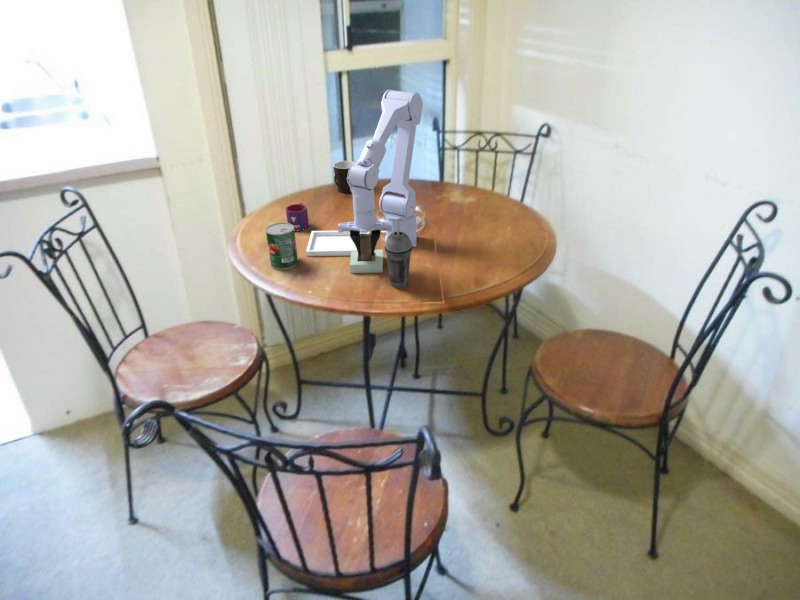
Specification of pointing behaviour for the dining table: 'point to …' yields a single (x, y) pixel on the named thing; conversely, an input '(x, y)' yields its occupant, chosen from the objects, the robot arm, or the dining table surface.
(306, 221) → the cup
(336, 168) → the coffee mug
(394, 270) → the beverage cup
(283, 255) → the canned tomato
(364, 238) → the walnut peg
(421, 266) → the dining table surface
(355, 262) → the mint square peg hole
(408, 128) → the robot arm
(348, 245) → the tray
